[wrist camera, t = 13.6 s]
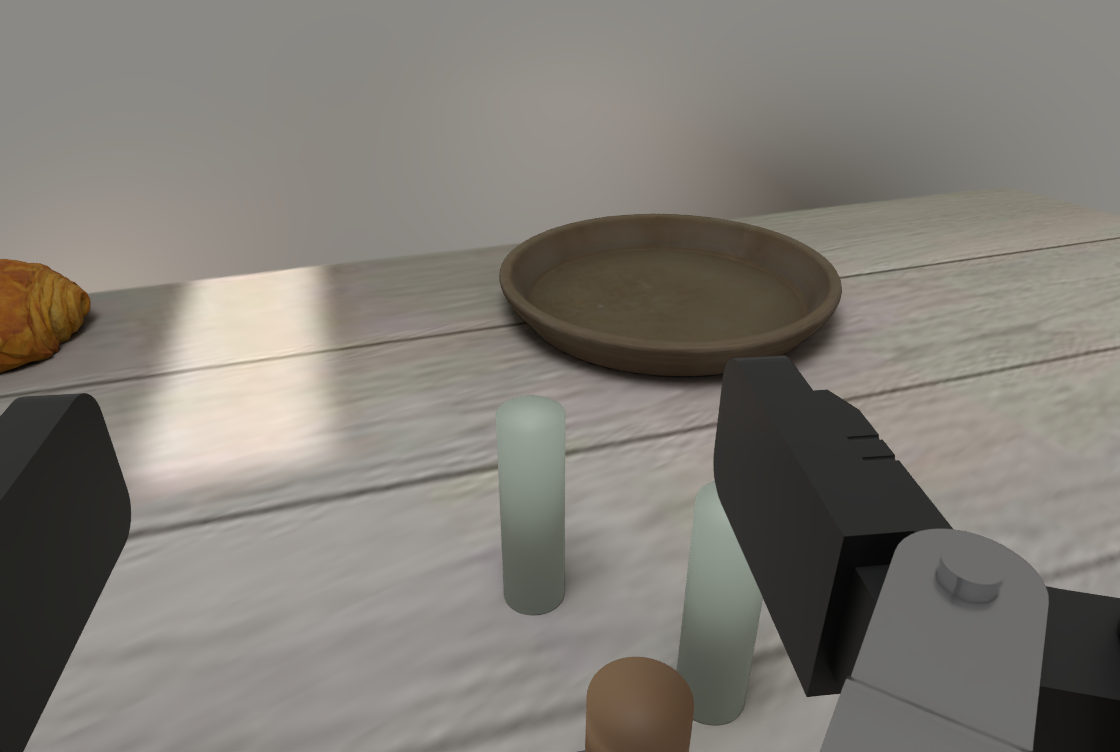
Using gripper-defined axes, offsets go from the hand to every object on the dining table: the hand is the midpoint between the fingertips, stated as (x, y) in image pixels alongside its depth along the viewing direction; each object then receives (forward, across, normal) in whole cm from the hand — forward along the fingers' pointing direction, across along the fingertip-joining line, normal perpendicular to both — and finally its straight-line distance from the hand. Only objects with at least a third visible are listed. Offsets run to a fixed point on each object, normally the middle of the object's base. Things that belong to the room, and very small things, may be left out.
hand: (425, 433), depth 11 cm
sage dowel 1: (+25, -3, +28) cm, 38 cm away
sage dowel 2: (+17, -11, +28) cm, 35 cm away
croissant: (+59, +41, +28) cm, 78 cm away
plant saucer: (+60, -19, +28) cm, 69 cm away
